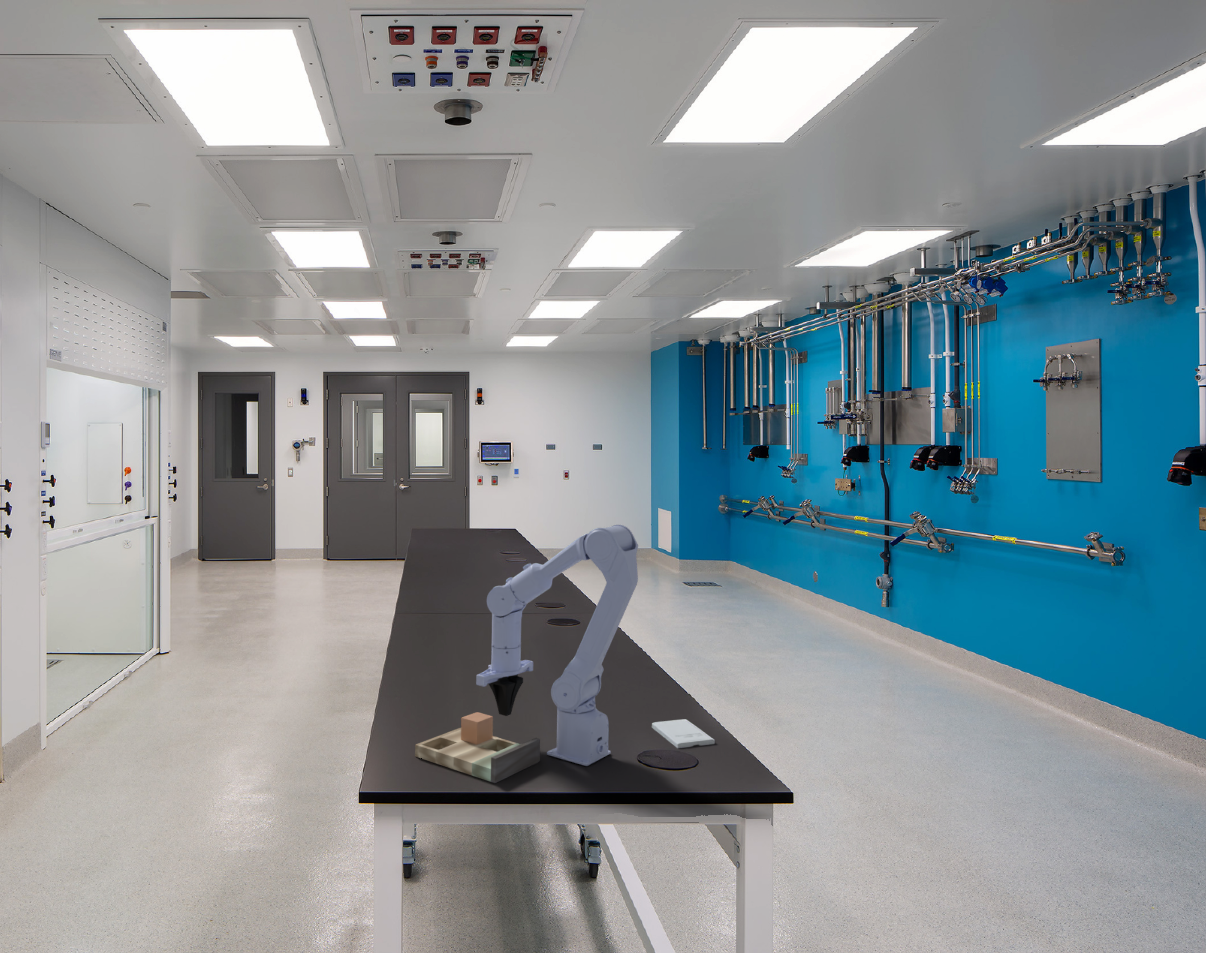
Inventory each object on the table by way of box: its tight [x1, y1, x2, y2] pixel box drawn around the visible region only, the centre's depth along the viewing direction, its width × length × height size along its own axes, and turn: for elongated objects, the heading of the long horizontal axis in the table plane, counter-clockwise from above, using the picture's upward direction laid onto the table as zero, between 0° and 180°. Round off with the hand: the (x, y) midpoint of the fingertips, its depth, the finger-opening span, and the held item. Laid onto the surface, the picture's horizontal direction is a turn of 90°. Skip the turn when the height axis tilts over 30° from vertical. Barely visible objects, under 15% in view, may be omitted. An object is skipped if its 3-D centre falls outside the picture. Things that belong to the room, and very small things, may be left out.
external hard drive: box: [651, 718, 716, 749], centre depth 157 cm, size 2×8×12 cm
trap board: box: [414, 727, 541, 784], centre depth 143 cm, size 20×12×4 cm, turn 55°
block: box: [460, 712, 494, 745], centre depth 147 cm, size 4×4×4 cm
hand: (504, 714), depth 153 cm, fingers closed
